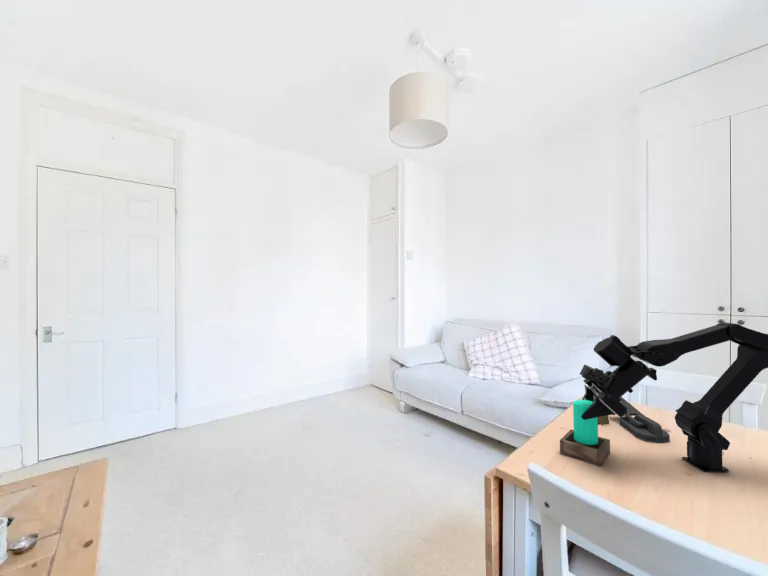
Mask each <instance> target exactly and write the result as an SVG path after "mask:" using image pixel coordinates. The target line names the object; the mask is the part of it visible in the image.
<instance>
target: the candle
mask: <svg viewBox="0 0 768 576" xmlns="http://www.w3.org/2000/svg"><path fill="white" fill-rule="evenodd" d="M584 399H585V398H584ZM592 403H593V402H592V401H589V400H582V399H578V400H573V401H572V406H573V407H572V410H573V412H572V413H573V414H572V415H573V420H572V421H573V430H574V439H575V440H576V441H577V442H580V443H583V444H588V445H596V444H597V443H598V437H599V424H598V417H596V418H591V419H586V420H584V419H582V418H581V416H582V414H583V413H584V412H585V411H586V410H587V409H588V408H589V406H590V405H591V404H592Z"/></svg>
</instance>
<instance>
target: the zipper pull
mask: <svg viewBox="0 0 768 576" xmlns="http://www.w3.org/2000/svg"><path fill="white" fill-rule="evenodd" d="M619 399H620V400H621V401H620V402H621V403H622V404H623V405H624V406H625V407H626V408H627V414H625V415H624V416H623V417H622V418H621V417H619V421H618V422H619V426H621V427H622V428H623V429H625V430H626V432H628V431H629V432H628V433H630V434H631V435H632V436H634V437H635V438H636V439H638V440H641V441H644V442H647V443H653V444H665V443H670V439H671V438H670V433H668V431H667V430H664V429H663V428H662V426H661V425H660V423H658V422H657V421H655V420H653V419H651V418H650V417H648V416H646V415H645V414H643V413H642V412H641V411H639V410H638V409H637V408H635V406H633V405H632V404H631V403H630V402H629V401H627V400H626V399H625V398H624V397H623V396H621V397H620V398H619Z"/></svg>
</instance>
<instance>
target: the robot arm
mask: <svg viewBox="0 0 768 576" xmlns="http://www.w3.org/2000/svg"><path fill="white" fill-rule="evenodd" d="M729 341H730V342H732V343H735V344H737V345H738V346H737V350H736V351H737V352H736V353H737V354H736V355H737V356H736V359H735V360H734V361H733V362H732V364H731V365H730V366H729V367H728V368H727V369H726V370H725V371H724V372H723V373H722V374H721V376H720V377H719V378H718V379H717V380H716V381H715V382H714V383H713V385H711V387H710V388H709V389H708V390H707V391H706V393H705V394H704V395H703V396H702V397H701V399H699V400H697V401H694V402H691V401H690V400H685V401H683V403H682V404H681V406H679V408H677V409H675V412H677V413H676V414H675V415H674V420H675V424H676V426H677V427H678V428H680V429H681V431H682V434H683V435H684V436H687V441H686V456H682V457H681V460H682V461H685V462H687V463H688V464H690V465H692V466H693V467H694V468H695V467H696V469H698V470H700V471H701V472H705V473H710V472H712V473H714V472H719V473H720V472H722V473H723V472H725V473H726V472H729V471H730V469H729V468H727V467H725V466H723V451H727V450H729V447H730V446H731V442H730V441H729V440H728V439H727V438H726V437H725V436H724V435H723V434H721V433H720V432H719V431H720V429H721V428H722V426H723V416H724V413H725V412H726V411H727V410H728V409H729V407H730V406H732V404H733V403H734V402H735V401H736V400H737V399H738V397H740V395H741V394H742V393H743V392H744V391H745V390H746V389H747V387H748V386H750V384H751V383H752V382H753V381H754V380H755V378H756V377H757V376H758V375H759V374H760V373H761V372H762V371H764V370H766V369H768V333H763V332H760V331H757V330H755V329H751V328H748V327H746V326H743V325H740V324H738V323H733V322H726V321H725V322H724V321H723V322H719V323H717V324H716V325H712V326H708V327H706V328H702V329H698V330H696V331H692V332H689V333H686V334H682V335H678V336H676V337H672V338H665V339H652V340H645V341H641V342H639V343H638V344H637V345H631V346H630V345H629V346H627V345H626V344H625V343H624V342H623V341H622V340H621V339H620V338H619V337H618V336H617V335H614V334H611V335H610V336H609V337H606V338H604V339H602V340H600V341H599V342H597V343H596V345H595V346H594V348H593V352H594V353H596V355H598V356H599V357H600V358H602V360H604V362H606V363H607V364H608V365H609V366H610V367H616V368H615V369H614V370H613V371H611V370H607V371H605V372H604V370H602V369H599V368H597V367H595V368H594V367H592V366H590V365H586V364H584V365H583V367H582V369H580V370H581V371H580V372H579V375H581V377H582V378H584V379H583V382H584V391H585V394H584V395H583V397H581V400H589V401H592V402H593V403H592V404H591V405H590V406H589V408H588V409H587V410H586V411H585V412H584V413H583V414H582V416H581V418H582V419H584V420H586V419H591V418H596V417H601V416H607V415H608V416H616V415H617V416H618V417H619V418H622V417H625V416H624V415H625V414H627V408H626V407H625V406H624V405H623V404H622V403H621V402H620V401H621V400H620V399H619V398H620V397H623V396H624V395H625V394H627V393H629V394H631V393H633V392H634V389H633V388H634V387H635V386H636V385H637V384H639V383H641V381H642V380H643V379H645V378H647V377H648V378H650V379H652V380H654V381H657V380H658V376H657V369H656V368H653V367H648V366H647V365H646V364H649V365H652V366H655V367H664V366H667V365H669V364H672V363H673V362H675V361H677V360H678V359H679V358H681V356H683V355H685V354H688V353H691V352H695V351H698V350H701V349H705V348H708V347H709V348H710V347H712V346H715V345H716V346H717V345H719V344H722V343H725V342H729ZM633 357H634V358H635V359H636V358H637V359H639V360H635V359H633ZM644 362H645V363H646V364H645V363H644ZM584 398H585V399H584Z"/></svg>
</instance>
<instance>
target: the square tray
mask: <svg viewBox="0 0 768 576" xmlns="http://www.w3.org/2000/svg"><path fill="white" fill-rule="evenodd" d="M559 453H560V454H561V455H564V456H567V457H570V458H573V459H575V460H580V461H583V462H586V463H589V464H592V465H595V466H598V467H602V466H603V464H604V463H605V461H606V460H608V459H607V458H608V457H609V455H610V454H611V439H610V438H605V437H602V436H598V443H597V444H596V445H588V444H583V443H580V442H577V441H576V440H575V439H574V429H572V428H571V429H570V430H569V431H567V433H565V434H564V436H563V437H561V438H560V439H559Z"/></svg>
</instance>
